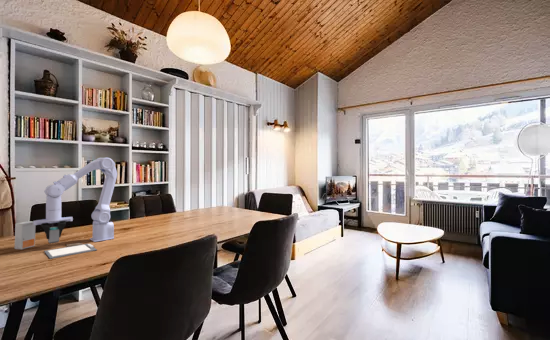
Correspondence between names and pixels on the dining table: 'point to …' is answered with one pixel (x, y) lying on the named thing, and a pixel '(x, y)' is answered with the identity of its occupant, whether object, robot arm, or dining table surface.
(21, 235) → the skincare box
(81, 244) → the word placard
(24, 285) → the dining table surface
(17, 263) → the dining table surface
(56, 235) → the teal-capped grey stamp
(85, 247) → the clipboard
